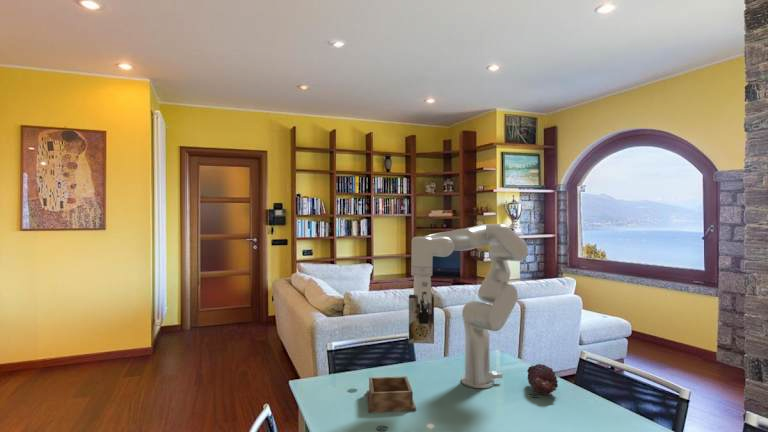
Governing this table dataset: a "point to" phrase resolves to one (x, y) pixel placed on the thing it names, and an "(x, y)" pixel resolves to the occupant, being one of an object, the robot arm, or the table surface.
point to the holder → (389, 395)
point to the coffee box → (420, 331)
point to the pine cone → (542, 379)
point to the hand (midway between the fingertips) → (421, 320)
